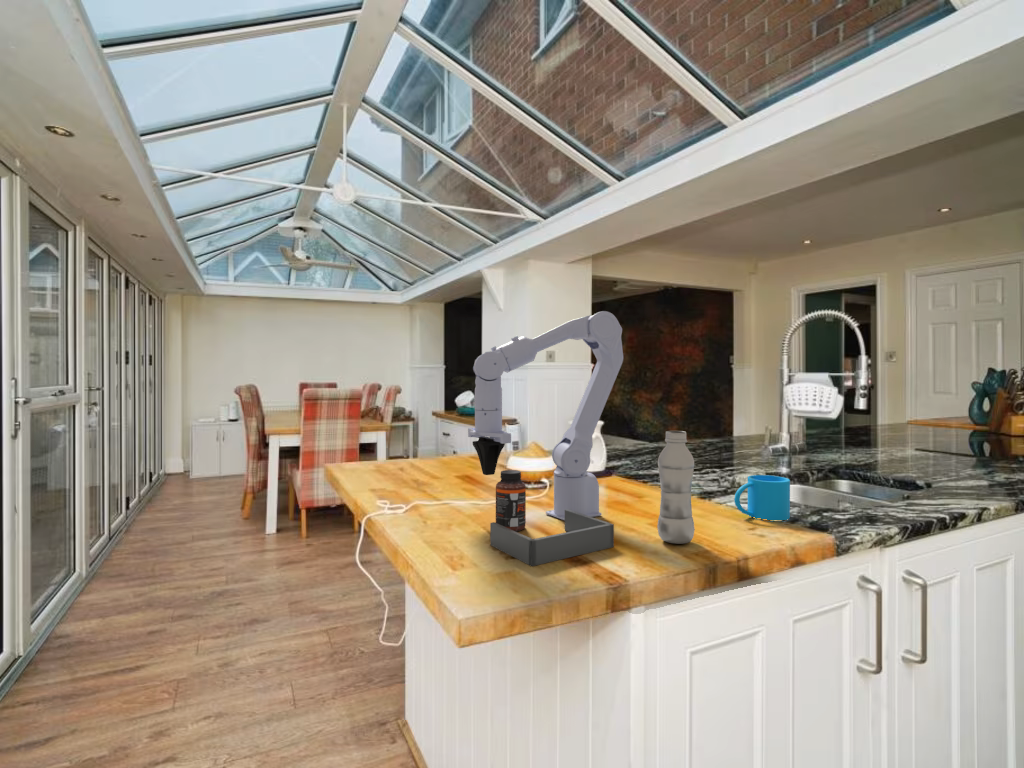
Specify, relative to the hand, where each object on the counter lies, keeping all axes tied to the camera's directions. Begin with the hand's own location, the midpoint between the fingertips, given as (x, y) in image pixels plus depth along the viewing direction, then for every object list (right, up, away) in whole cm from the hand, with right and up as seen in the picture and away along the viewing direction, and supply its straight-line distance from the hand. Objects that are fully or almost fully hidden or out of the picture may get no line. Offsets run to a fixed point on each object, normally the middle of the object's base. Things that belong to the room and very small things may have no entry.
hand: (488, 474), depth 114 cm
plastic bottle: (+34, -10, -16) cm, 39 cm away
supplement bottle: (+5, -10, -7) cm, 13 cm away
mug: (+58, -10, +1) cm, 59 cm away
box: (+12, -10, -18) cm, 23 cm away
